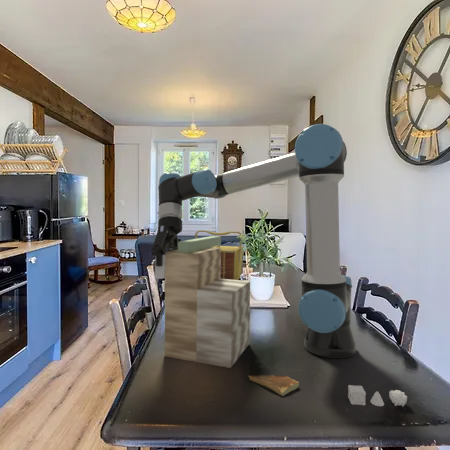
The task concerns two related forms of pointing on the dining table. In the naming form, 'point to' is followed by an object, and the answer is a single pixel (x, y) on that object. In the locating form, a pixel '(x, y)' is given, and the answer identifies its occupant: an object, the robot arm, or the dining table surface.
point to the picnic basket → (229, 258)
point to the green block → (198, 244)
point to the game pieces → (358, 396)
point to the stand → (204, 309)
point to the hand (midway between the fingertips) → (170, 286)
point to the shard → (276, 383)
